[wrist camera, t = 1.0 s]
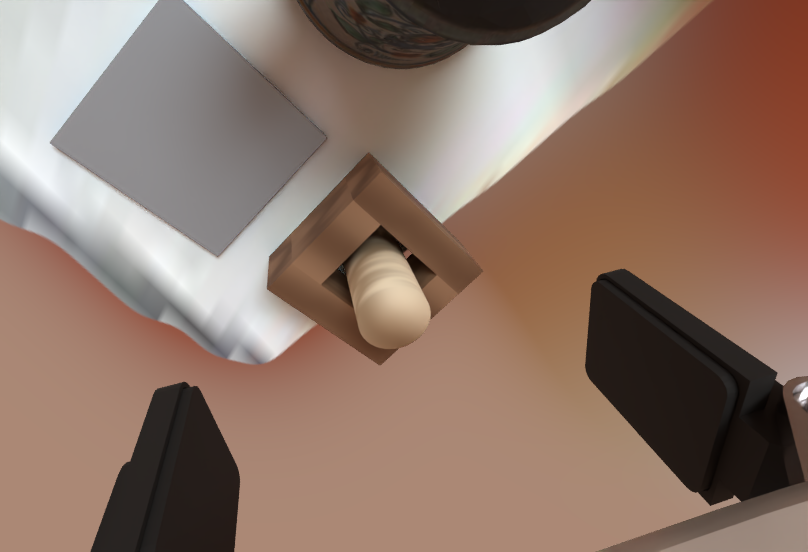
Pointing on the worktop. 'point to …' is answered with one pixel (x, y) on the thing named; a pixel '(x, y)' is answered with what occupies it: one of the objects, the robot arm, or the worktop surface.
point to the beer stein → (430, 26)
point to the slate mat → (189, 128)
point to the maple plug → (386, 293)
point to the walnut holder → (344, 232)
